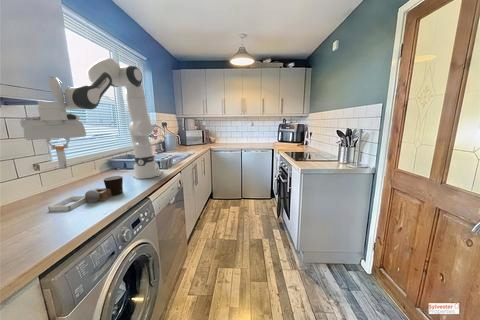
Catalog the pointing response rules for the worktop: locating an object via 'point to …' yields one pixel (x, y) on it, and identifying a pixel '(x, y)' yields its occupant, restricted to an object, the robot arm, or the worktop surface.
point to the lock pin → (61, 157)
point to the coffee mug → (114, 184)
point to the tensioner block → (98, 195)
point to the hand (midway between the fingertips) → (60, 148)
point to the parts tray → (59, 206)
